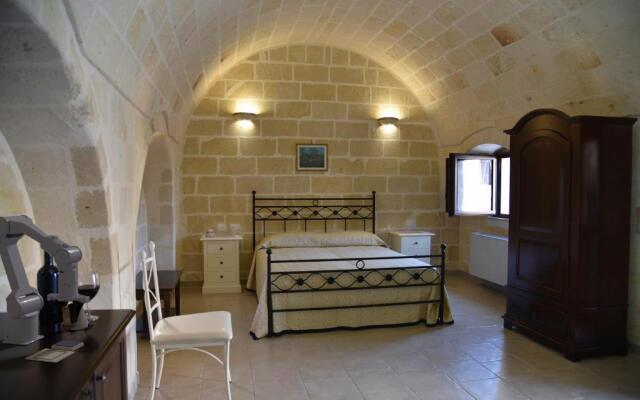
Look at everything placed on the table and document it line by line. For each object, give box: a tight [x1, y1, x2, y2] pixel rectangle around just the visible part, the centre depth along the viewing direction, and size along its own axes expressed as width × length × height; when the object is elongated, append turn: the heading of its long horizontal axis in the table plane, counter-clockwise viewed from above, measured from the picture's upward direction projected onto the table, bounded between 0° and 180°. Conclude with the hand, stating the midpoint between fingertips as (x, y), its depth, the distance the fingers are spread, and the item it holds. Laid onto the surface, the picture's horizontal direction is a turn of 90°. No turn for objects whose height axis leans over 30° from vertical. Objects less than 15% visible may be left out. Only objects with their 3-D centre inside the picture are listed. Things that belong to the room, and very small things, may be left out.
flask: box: [69, 306, 90, 331], centre depth 166 cm, size 7×7×10 cm
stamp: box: [61, 305, 77, 330], centre depth 147 cm, size 4×4×7 cm
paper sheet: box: [24, 348, 75, 363], centre depth 140 cm, size 11×8×1 cm
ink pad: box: [51, 339, 84, 352], centre depth 147 cm, size 8×5×1 cm, turn 80°
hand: (68, 322), depth 147 cm, fingers closed on stamp, 4 cm apart
